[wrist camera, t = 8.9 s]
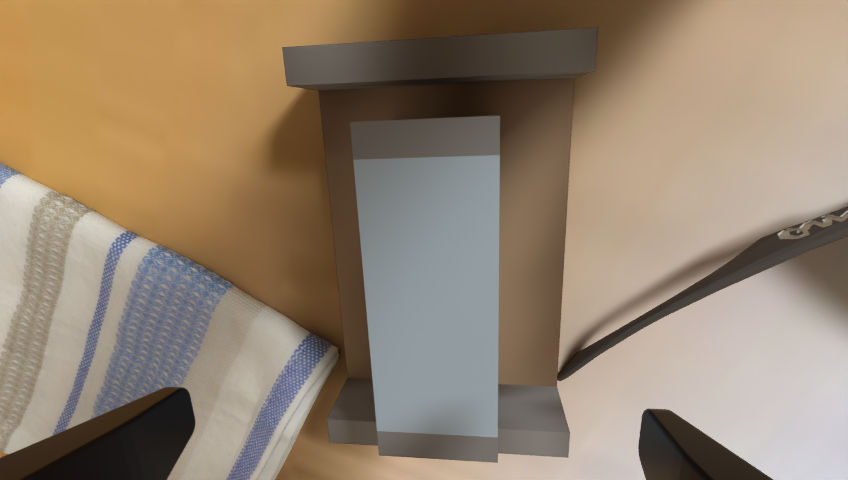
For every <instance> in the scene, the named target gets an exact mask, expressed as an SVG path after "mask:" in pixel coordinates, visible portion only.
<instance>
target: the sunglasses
mask: <svg viewBox="0 0 848 480" xmlns="http://www.w3.org/2000/svg"><path fill="white" fill-rule="evenodd" d="M846 236H848V207H846V208H843V209H841V210H838V211H835V212H832V213H830V214H827V215H824V216H821V217H818V218H815V219H813V220H810V221H807V222H804V223H801V224H798V225H795V226H792V227H789V228H787V229H784V230H781V231H779V232H776V233H774V234H771V235H768V236H766V237H763V238H761V239H759V240H758V241H757V242H755V243H754V244H753V245H751V246H750V247H749V248H747V249H746V250H745V251H743V252H742V253H740V254H739V255H738V256H736V257H735V258H734V259H732V260H731V261H730V262H728V263H727V264H725V265H724V266H722V267H721V268H719V269H718V270H716V271H715V272H713V273H712V274H710V275H708V276H707V277H705V278H703V279H702V280H700V281H699V282H697V283H695V284H694V285H692V286H690V287H689V288H687V289H685V290H684V291H682V292H680V293H679V294H677V295H675V296H674V297H672V298H670V299H669V300H667V301H666V302H664V303H662V304H660V305H659V306H657V307H655V308H654V309H652V310H650V311H648V312H647V313H645V314H643V315H642V316H640V317H638V318H637V319H635V320H633V321H631V322H630V323H628V324H626V325H625V326H623V327H621V328H619V329H618V330H616V331H614V332H613V333H611V334H609V335H607V336H606V337H604V338H602V339H601V340H599V341H597V342H595V343H594V344H592V345H590V346H588V347H587V348H585V349H583V350H581V351H580V352H578V353H577V354H576V355H575V356H574V357H573V358H572V359H571V361H570V362H569V363H568V364H567V365H566V366H565V367H564V369H563V370H562V371H561V372H560V373H559V374H558V376H557V380H559V381H561V380H563V379H566V378H567V377H569V376H571V375H572V374H573V373H575V372H576V371H578V370H579V369H580V368H582V367H583V366H584V365H586V364H587V363H588V362H590V361H591V360H593V359H594V358H595V357H597V356H598V355H600V354H601V353H603V352H605V351H606V350H608V349H609V348H611V347H613V346H614V345H616V344H618V343H619V342H621V341H623V340H624V339H626V338H628V337H629V336H631V335H632V334H634V333H636V332H637V331H639V330H641V329H643V328H644V327H646V326H648V325H650V324H652V323H653V322H655V321H657V320H659V319H661V318H663V317H665V316H667V315H669V314H671V313H673V312H675V311H677V310H679V309H681V308H683V307H686V306H688V305H690V304H692V303H694V302H696V301H698V300H700V299H702V298H704V297H706V296H708V295H711V294H713V293H715V292H717V291H719V290H721V289H723V288H726V287H728V286H730V285H732V284H735V283H737V282H739V281H741V280H744V279H746V278H748V277H750V276H753V275H755V274H757V273H760V272H762V271H764V270H766V269H769V268H771V267H773V266H775V265H778V264H780V263H782V262H784V261H787V260H789V259H791V258H794V257H796V256H798V255H800V254H803V253H805V252H807V251H810V250H813V249H815V248H818V247H820V246H823V245H826V244H828V243H831V242H833V241H836V240H838V239H841V238H844V237H846Z"/></svg>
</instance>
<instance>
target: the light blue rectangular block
mask: <svg viewBox="0 0 848 480" xmlns="http://www.w3.org/2000/svg"><path fill="white" fill-rule="evenodd" d="M350 128H351V139H352V151H353V162H354V174H355V185H356V196H357V208H358V219H359V231H360V242H361V254H362V265H363V277H364V288H365V299H366V311H367V322H368V334H369V345H370V357H371V368H372V379H373V391H374V402H375V414H376V425H377V437H378V448H379V455H382V456H398V457H414V458H430V459H447V460H463V461H479V462H495V463H498V335H499V193H500V116H496V115H488V116H465V117H442V118H419V119H397V120H379V121H363V122H350Z"/></svg>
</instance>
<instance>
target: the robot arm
mask: <svg viewBox="0 0 848 480" xmlns="http://www.w3.org/2000/svg"><path fill="white" fill-rule="evenodd" d="M195 423H196V421H195V415H194V411H193V406H192V402H191V397H190V393H189V391H188V390H187V389H186V388H183V387H165V388H162V389H160V390H157V391H155V392H153V393H150V394H148V395H146V396H143V397H141V398H139V399H137V400H134V401H132V402H130V403H127V404H125V405H123V406H120V407H118V408H116V409H113V410H111V411H109V412H106V413H104V414H102V415H99V416H97V417H95V418H92V419H90V420H88V421H85V422H83V423H81V424H78V425H76V426H74V427H71V428H69V429H67V430H64V431H62V432H60V433H57V434H55V435H53V436H50V437H48V438H46V439H43V440H41V441H39V442H36V443H34V444H32V445H30V446H27V447H25V448H23V449H20V450H18V451H16V452H13V453H11V454H9V455H6V456H4V457H2V458H0V480H167V479H168V477H169V475H170V473H171V472H172V470H173V468H174V466H175V465H176V463H177V461H178V459H179V457H180V456H181V454H182V452H183V450H184V449H185V447H186V445H187V443H188V441H189V440H190V438H191V436H192V434H193V432H194V429H195ZM639 457H640V461H641V465H642V468H643V471H644V475H645V478H646V480H773V479H771V478H770V477H768V476H767V475H765V474H764V473H763V472H761V471H760V470H758V469H757V468H755V467H754V466H752V465H751V464H749V463H748V462H746V461H745V460H743V459H742V458H740V457H739V456H737V455H736V454H734V453H733V452H731V451H730V450H728V449H727V448H725V447H724V446H722V445H721V444H719V443H718V442H716V441H715V440H713V439H712V438H711V437H709V436H708V435H706V434H705V433H703V432H702V431H700V430H699V429H697V428H696V427H694V426H693V425H691V424H690V423H688V422H687V421H685V420H684V419H682V418H681V417H679V416H678V415H676V414H675V413H673V412H672V411H670V410H666V409H646V410H645V411H644V412H643V415H642V422H641V430H640V438H639Z"/></svg>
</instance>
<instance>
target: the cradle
mask: <svg viewBox="0 0 848 480" xmlns="http://www.w3.org/2000/svg"><path fill="white" fill-rule="evenodd" d="M597 36H598V28H582V29H566V30H550V31H534V32H518V33H502V34H486V35H471V36H455V37H439V38H423V39H407V40H391V41H375V42H359V43H343V44H328V45H312V46H296V47H282V49H283V58H284V66H285V74H286V83H287V86H291V87H298V88H305V89H312V90H318V91H319V98H320V108H321V118H322V128H323V138H324V148H325V158H326V168H327V178H328V188H329V198H330V208H331V218H332V228H333V238H334V247H335V257H336V267H337V277H338V287H339V297H340V307H341V317H342V327H343V337H344V347H345V357H346V367H347V377H348V378H347V380H346V382H345V384H344V386H343V388H342V390H341V392H340V394H339V396H338V398H337V400H336V402H335V404H334V406H333V408H332V410H331V412H330V414H329V416H328V418H327V425H328V433H329V441H330V443H345V444H361V445H377V446H378V437H377V425H376V414H375V402H374V391H373V379H372V368H371V357H370V345H369V334H368V322H367V311H366V299H365V288H364V277H363V265H362V254H361V242H360V231H359V219H358V208H357V196H356V185H355V174H354V162H353V151H352V139H351V128H350V122H363V121H379V120H397V119H419V118H442V117H465V116H488V115H496V116H500V193H499V335H498V453H504V454H520V455H536V456H552V457H568V452H569V438H570V431H569V428H568V424H567V421H566V417H565V414H564V410H563V407H562V403H561V400H560V396H559V393H558V389H557V374H558V357H559V339H560V322H561V304H562V287H563V269H564V252H565V234H566V217H567V199H568V182H569V164H570V147H571V130H572V112H573V95H574V78H576V77H579V76H581V75H584V74H587V73H589V72H592V71H594V70H595V65H596V50H597Z"/></svg>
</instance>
